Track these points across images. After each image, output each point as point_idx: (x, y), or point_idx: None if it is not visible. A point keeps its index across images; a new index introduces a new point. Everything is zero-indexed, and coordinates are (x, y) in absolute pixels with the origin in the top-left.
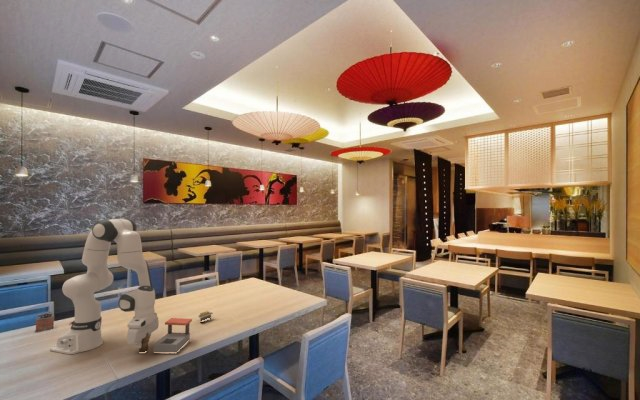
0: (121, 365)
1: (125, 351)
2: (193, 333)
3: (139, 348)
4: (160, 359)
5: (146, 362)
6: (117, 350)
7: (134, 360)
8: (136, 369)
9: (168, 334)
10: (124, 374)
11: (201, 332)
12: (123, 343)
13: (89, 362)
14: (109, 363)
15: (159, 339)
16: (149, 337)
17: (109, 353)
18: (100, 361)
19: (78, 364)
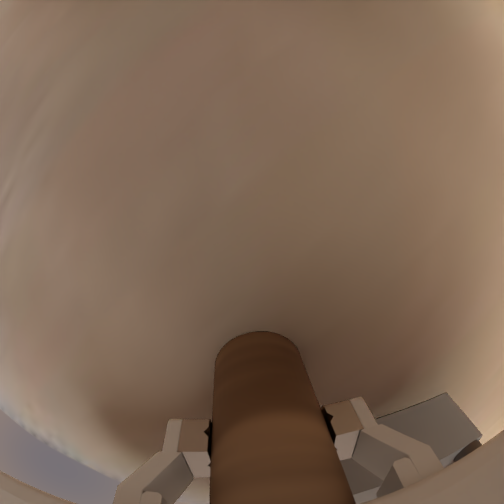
0: (23, 334)
1: (242, 146)
2: (491, 415)
3: (216, 396)
4: (189, 490)
5: (128, 456)
6: (250, 35)
7: (107, 385)
8: (55, 437)
9: (443, 465)
10: (4, 402)
11: (487, 432)
12: (401, 15)
13: (17, 32)
14: (5, 207)
15: (353, 495)
16: (371, 469)
17: (168, 14)
18: (21, 91)
19: (7, 5)
